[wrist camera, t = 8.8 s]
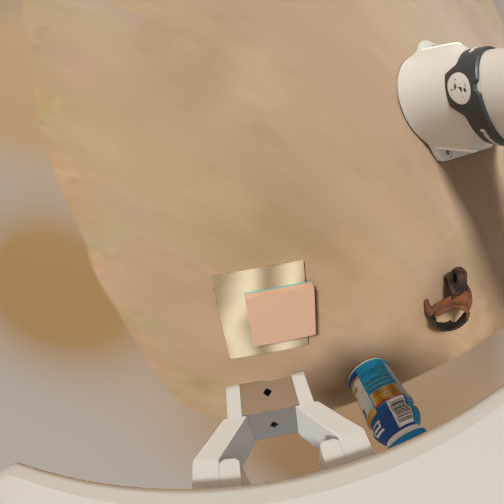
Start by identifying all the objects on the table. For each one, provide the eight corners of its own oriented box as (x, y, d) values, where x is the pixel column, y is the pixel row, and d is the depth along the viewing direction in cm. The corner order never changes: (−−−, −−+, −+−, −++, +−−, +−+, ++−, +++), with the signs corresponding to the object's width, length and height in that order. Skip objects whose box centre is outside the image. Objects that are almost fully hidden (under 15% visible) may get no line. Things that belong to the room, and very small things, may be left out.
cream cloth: (302, 260, 38) (303, 261, 38) (307, 343, 43) (308, 344, 43) (211, 275, 37) (211, 277, 37) (230, 357, 42) (230, 358, 42)
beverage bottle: (394, 361, 48) (446, 437, 29) (366, 391, 50) (406, 469, 31) (367, 350, 45) (422, 436, 27) (337, 383, 47) (377, 471, 29)
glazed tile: (313, 286, 37) (245, 298, 37) (315, 334, 40) (253, 346, 40) (310, 280, 39) (244, 292, 38) (312, 328, 42) (252, 340, 41)
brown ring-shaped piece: (461, 297, 45) (468, 332, 39) (418, 300, 49) (422, 336, 43) (473, 251, 38) (487, 287, 32) (425, 253, 42) (433, 291, 36)
